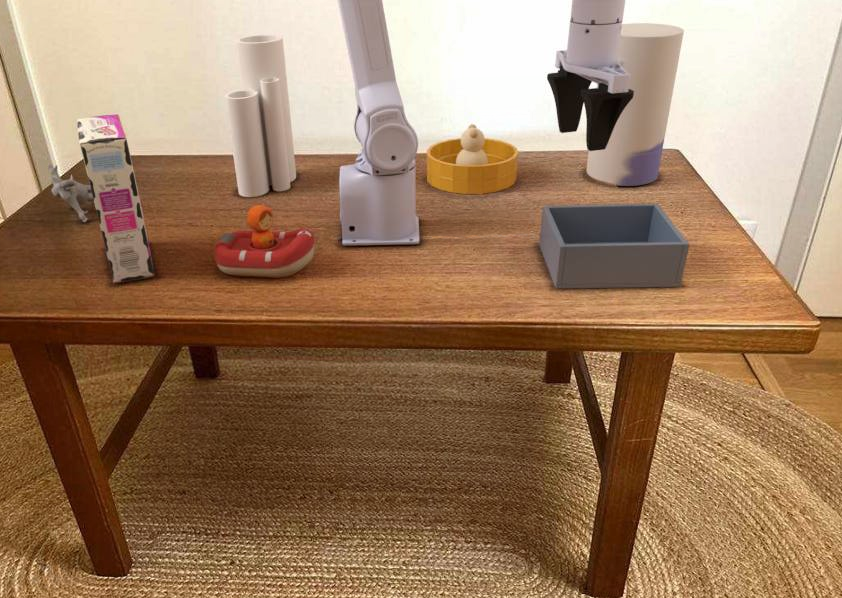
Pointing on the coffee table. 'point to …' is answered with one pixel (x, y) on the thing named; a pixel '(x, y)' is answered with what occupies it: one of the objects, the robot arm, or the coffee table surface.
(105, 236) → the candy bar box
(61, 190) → the elephant figurine
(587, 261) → the bin
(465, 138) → the beige rounded figure
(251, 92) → the vase
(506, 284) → the coffee table surface
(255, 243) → the toy boat
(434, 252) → the coffee table surface
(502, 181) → the bowl
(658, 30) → the container
